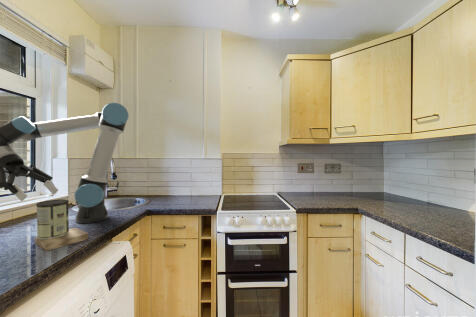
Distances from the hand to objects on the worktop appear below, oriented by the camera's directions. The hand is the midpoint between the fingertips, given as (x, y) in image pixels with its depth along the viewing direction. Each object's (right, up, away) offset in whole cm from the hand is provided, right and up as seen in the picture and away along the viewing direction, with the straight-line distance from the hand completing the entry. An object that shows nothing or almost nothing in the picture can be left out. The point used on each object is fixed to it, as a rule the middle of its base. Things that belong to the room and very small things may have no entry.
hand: (41, 195), depth 90 cm
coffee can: (+5, -17, 0) cm, 18 cm away
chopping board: (+9, -19, 0) cm, 21 cm away
